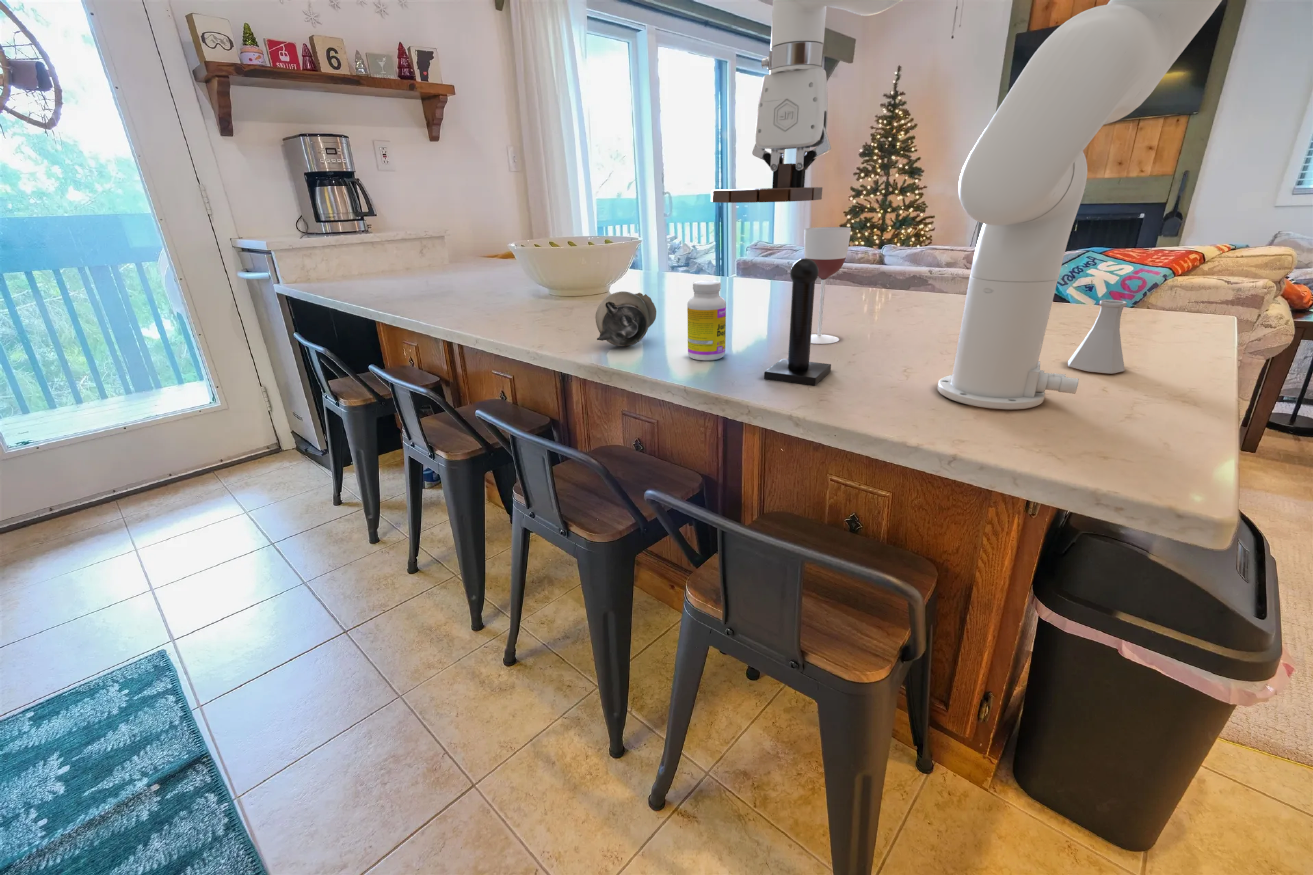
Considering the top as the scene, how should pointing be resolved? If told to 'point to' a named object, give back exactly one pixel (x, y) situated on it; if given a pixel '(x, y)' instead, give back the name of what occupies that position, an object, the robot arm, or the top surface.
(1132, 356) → the top surface
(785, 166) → the walnut ring
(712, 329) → the supplement bottle
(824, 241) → the wineglass
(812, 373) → the towel holder
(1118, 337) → the flask
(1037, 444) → the top surface
